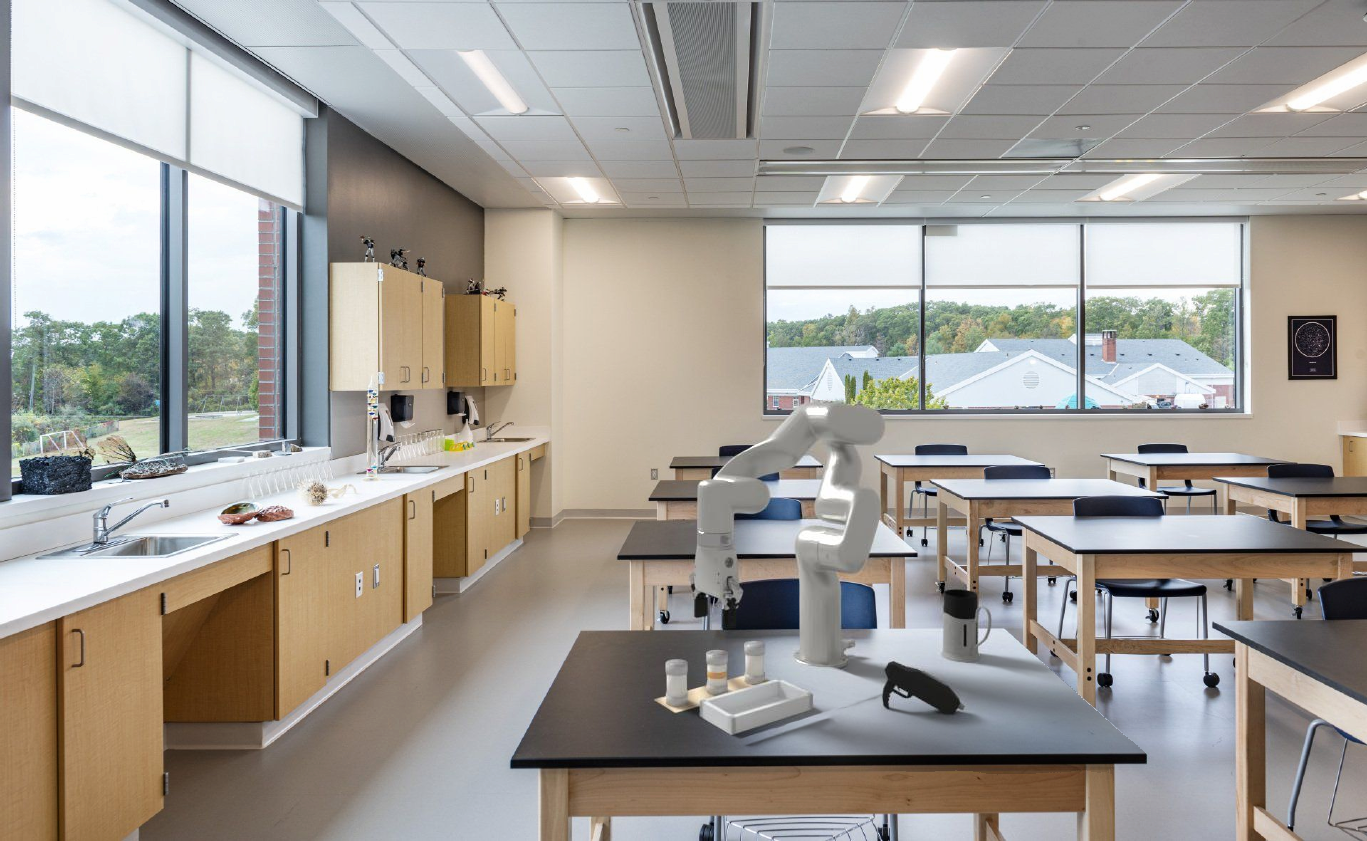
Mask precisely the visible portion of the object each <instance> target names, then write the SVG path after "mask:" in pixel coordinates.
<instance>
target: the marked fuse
mask: <svg viewBox="0 0 1367 841" xmlns="http://www.w3.org/2000/svg"><path fill="white" fill-rule="evenodd" d="M705 655H706V660H705V662H706V665H707V667H706V668H707V669H706V670H707V671H706V674H707V676H706V677H707V681H706V686H707V693H708V694H710V695H715V696H718V695H722V694H726V693H728V682H727V680H728V665H727V664H728V656H729V653H728V652H727V651H726V650H722V649H712V650H709V651H707V652H706V653H705Z"/></svg>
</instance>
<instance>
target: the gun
mask: <svg viewBox="0 0 1367 841" xmlns="http://www.w3.org/2000/svg"><path fill="white" fill-rule="evenodd" d="M884 673H885V675H886V678H887V680H886V682H885V683H884V686H883V688H882V696H881V698H882V704H883V707H884V708H886V709H887V710H890V704H889V703H890V697H891V695H890V694H892V693H894V694H896V695H898V696H899V697H901V698H902V699H911V698H912V697H915V698H917V699H918V700H921V701H922V702H924V703H926V704H928V705H929V706H931V707H933V708H935V709H936V710H938V711H939V712H942V713H944V714H945V715H947V716H950V715H951V716H954V715H955V714H956V712H957V711H958V710H961V711H964V709H965V707H966V706H965V705H964V704H963V703H962V702H961V700H960V698H959V697H958V695H957V693H955V691H954V690H953V689H952V688H951V687H950V686H949V685H947V682H944V681H943V680H941V679H939V678H938V677H936V676H934V675H932V674H930V673H928V672H926V671H925V670H921V669H918V668H914V667H910V666H906V665H903V664H902V663H899V662H897V661H894V660H892V661H888V663H887V665H886V666H885V668H884ZM895 687H896V688H897V689H895ZM901 690H902V691H903V692H906V693H907V695H906V694H904V693H902V692H900V691H901Z"/></svg>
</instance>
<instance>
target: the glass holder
mask: <svg viewBox="0 0 1367 841" xmlns="http://www.w3.org/2000/svg"><path fill="white" fill-rule="evenodd" d="M978 597H979V596H978V593H977V592H975V591H972V590H967V589H955V588H954V589H947V590H945V591H943V607H942V613H943V614H942V651H941V652H940V656H941V657H942V658H943V659H946V660H949V661H952V662H957V663H975V662H978V661H980V660H981V655H980V654H979V647H980V646H981V645H982V644H983V643H985V642H986V640H988V637H989V636H990V633H991V628H992V615H991V612H990V609H988V608H987V606H984V605H981V606H978V599H979V598H978ZM981 609H983V610H984V611H985V612H986V613H987V618H988V619H987V620H988V623H987V630H986V633H985V635H984V637H983V638H982V640H980V642H979V617H980V616H979V614H980V611H981Z"/></svg>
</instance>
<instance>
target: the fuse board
mask: <svg viewBox="0 0 1367 841" xmlns="http://www.w3.org/2000/svg"><path fill="white" fill-rule="evenodd" d="M769 681H772V680H771V679H768V678H766V677H765V682H769ZM727 682H728V693H729V692H733V691H736V690H740V689H744V688H747V687H751V686H754V685H750V684H747V683H745V674H743V675H741V676H736V677H732V678H730V679H727ZM687 693H688V704H687V705H685V706H682V707H672V706H669V705H667V704H666V695H665V696H661V697H658V698H655V699H653V700H654V701H655V702H657V703H658V704H660V705H662V706H664V707H665V708H666V709H668V710H669V711H671V712H673V713H675V714H677V713H680V712H684V711H687V710H690V709H694V708H698V707H699V708H700V700H704V699H707V698H711V697H715V695H710V694H708V693H707V685H703V686H699V687H696V688H692V689H689V690H688V689H687Z"/></svg>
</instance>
